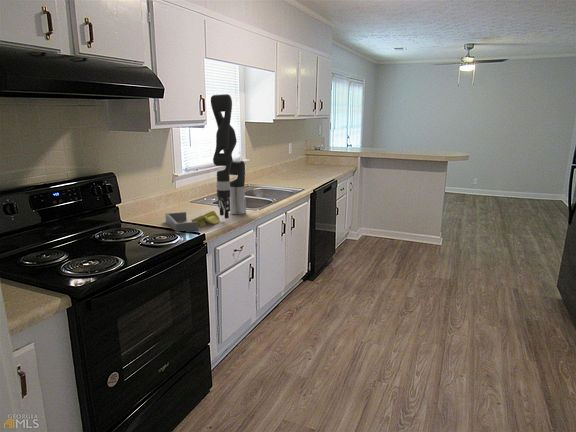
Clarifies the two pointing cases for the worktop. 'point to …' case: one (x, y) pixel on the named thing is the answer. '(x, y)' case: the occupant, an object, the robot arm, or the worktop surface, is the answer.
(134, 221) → the worktop surface
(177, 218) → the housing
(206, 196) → the worktop surface
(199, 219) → the plastic component
